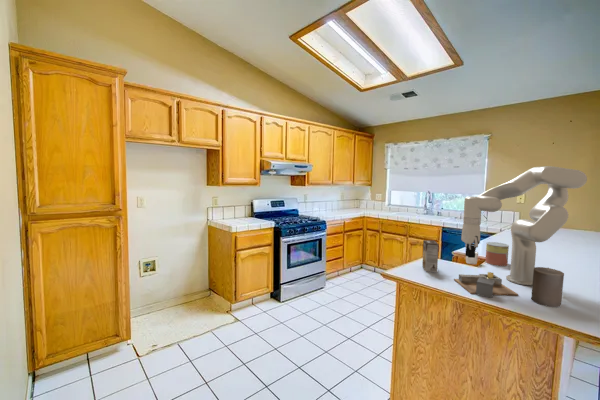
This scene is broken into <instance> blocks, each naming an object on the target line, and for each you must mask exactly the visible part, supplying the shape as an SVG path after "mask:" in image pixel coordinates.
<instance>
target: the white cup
mask: <svg viewBox="0 0 600 400" xmlns="http://www.w3.org/2000/svg"><path fill="white" fill-rule="evenodd" d="M478 257H479V252H478V251H475V258H469V257H468V256H466V255H465V262H466V264H468V265H477V263H478V259H479V258H478Z"/></svg>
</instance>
